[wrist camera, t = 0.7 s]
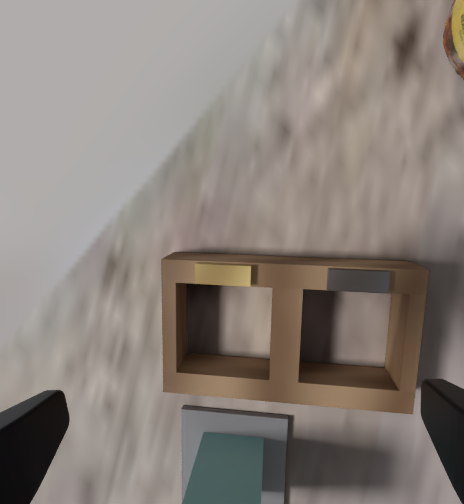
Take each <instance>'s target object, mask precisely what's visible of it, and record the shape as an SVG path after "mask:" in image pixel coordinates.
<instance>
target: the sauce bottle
mask: <svg viewBox="0 0 464 504" xmlns="http://www.w3.org/2000/svg"><path fill="white" fill-rule="evenodd" d="M443 38H444V42H443V44H444V48H445V51H446V54H447V57H448V59H449V61H450V64H451V65H452V66H453V68H454V69H455V70H456V72H457V74H458V75H460V76H461V77H462V78H463V80H464V0H454V2H453V4H452V7H451V9H450V11H449V13H448V16H447V22H446V26H445V31H444V35H443Z"/></svg>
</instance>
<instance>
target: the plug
mask: <svg viewBox="0 0 464 504" xmlns="http://www.w3.org/2000/svg"><path fill="white" fill-rule="evenodd" d="M263 443H264V438H260V437H250V436H240V435H230V434H221V433H211V432H203V435H202V438H201V442H200V445H199V448H198V452H197V455H196V458H195V462H194V465H193V468H192V472H191V475H190V478H189V482H188V485H187V488H186V492H185V495H184V498H183V502H182V504H261V496H262V470H263Z"/></svg>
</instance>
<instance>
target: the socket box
mask: <svg viewBox="0 0 464 504" xmlns="http://www.w3.org/2000/svg"><path fill="white" fill-rule="evenodd" d="M161 271H162V334H163V392H170V393H181V394H193V395H204V396H215V397H226V398H237V399H248V400H259V401H270V402H282V403H293V404H304V405H315V406H326V407H337V408H348V409H359V410H371V411H382V412H393V413H404V414H413V408H414V399H415V391H416V382H417V373H418V365H419V356H420V348H421V339H422V330H423V322H424V313H425V304H426V296H427V287H428V279H429V270H428V269H425V268H423V267H421V266H419V265H417V264H415V263H412V262H410V261H390V260H365V259H339V258H313V257H287V256H262V255H236V254H210V253H184V252H174V253H172V254H170V255H168V256H166V257H164V258H163V259H161ZM187 283H191V284H209V285H229V286H249V287H250V286H252V287H272V288H273V291H272V317H271V342H270V359H259V358H245V357H232V356H219V355H205V354H192V353H187ZM303 289H312V290H329V291H349V292H369V293H392V297H391V308H390V318H389V328H388V338H387V348H386V358H385V368H378V367H365V366H352V365H338V364H325V363H312V362H299V357H300V339H301V320H302V302H303Z"/></svg>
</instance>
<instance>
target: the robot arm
mask: <svg viewBox="0 0 464 504" xmlns="http://www.w3.org/2000/svg"><path fill="white" fill-rule="evenodd" d="M421 416H422V419H423V422H424V424H425V427H426V429H427V431H428V433H429V435H430V438H431V440H432V442H433V444H434V446H435V449H436V451H437V453H438V455H439V457H440V460H441V462H442V464H443V466H444V468H445V471H446V473H447V475H448V477H449V479H450V481H451V483H452V486H453V488H454V490H455V491H456V493H457V495H458V497H459V499H460V501H461V502H462V504H464V389H462V388H460V387H458V386H456V385H454V384H452V383H450V382H448V381H446V380H443V379H425V380H424V381H423V382H422V385H421ZM68 426H69V413H68V408H67V403H66V399H65V395H64V393H63V391H61V390H47V391H44V392H42V393H40V394H38V395H36V396H33V397H31V398H29V399H27V400H25V401H23V402H21V403H19V404H17V405H15V406H13V407H11V408H9V409H7V410H5V411H3V412H1V413H0V504H30V503H31V501H32V499H33V497H34V496H35V494H36V492H37V490H38V489H39V487H40V485H41V483H42V481H43V479H44V477H45V475H46V473H47V470H48V468H49V466H50V464H51V462H52V460H53V458H54V456H55V454H56V452H57V449H58V447H59V445H60V443H61V441H62V439H63V437H64V435H65V433H66V431H67V428H68Z"/></svg>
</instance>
